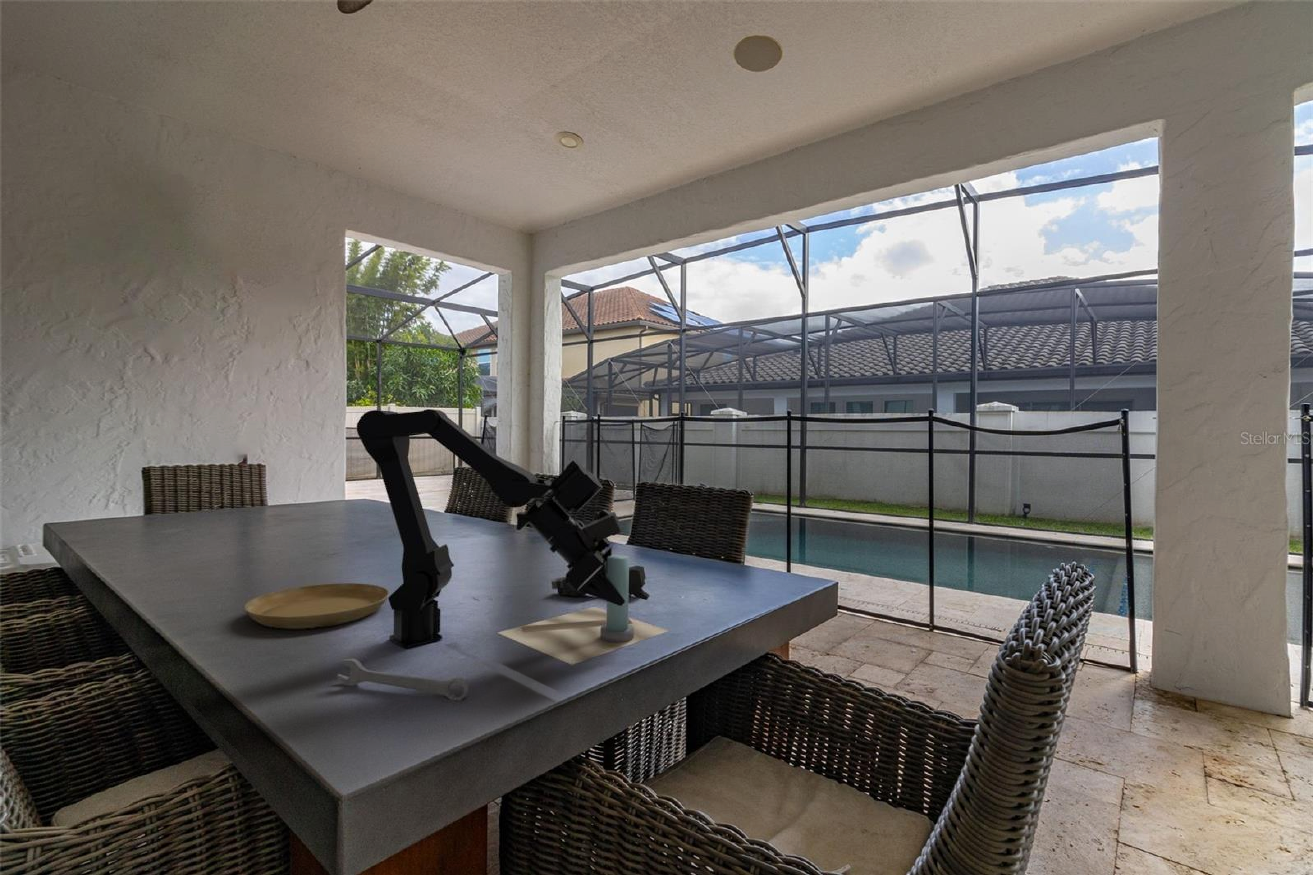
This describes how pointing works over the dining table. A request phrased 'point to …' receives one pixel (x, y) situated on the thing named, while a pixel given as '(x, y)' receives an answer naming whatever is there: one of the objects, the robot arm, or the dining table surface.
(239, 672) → the dining table surface
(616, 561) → the marker post
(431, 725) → the dining table surface
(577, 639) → the board
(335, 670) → the dining table surface
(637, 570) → the gun
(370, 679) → the combination wrench
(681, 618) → the dining table surface
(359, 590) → the plant saucer
